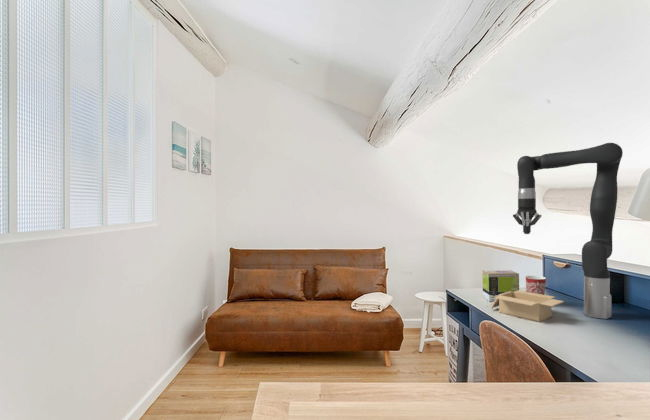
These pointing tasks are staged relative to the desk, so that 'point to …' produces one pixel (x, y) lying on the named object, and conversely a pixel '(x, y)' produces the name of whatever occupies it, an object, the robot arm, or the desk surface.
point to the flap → (497, 301)
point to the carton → (527, 305)
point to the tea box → (499, 283)
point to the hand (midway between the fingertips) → (526, 233)
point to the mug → (535, 284)
